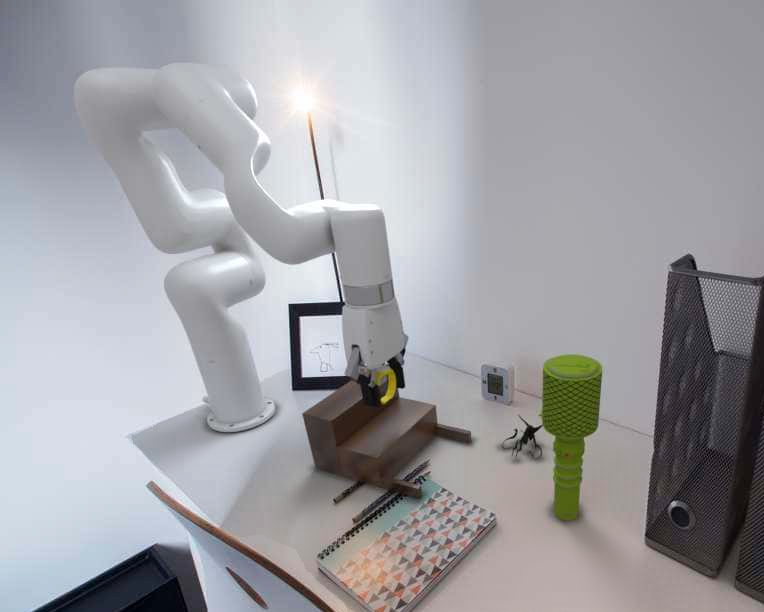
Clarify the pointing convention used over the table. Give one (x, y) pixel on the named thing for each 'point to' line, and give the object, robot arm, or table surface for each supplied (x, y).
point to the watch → (392, 381)
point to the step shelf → (372, 435)
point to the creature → (526, 437)
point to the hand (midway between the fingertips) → (385, 395)
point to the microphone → (570, 422)
